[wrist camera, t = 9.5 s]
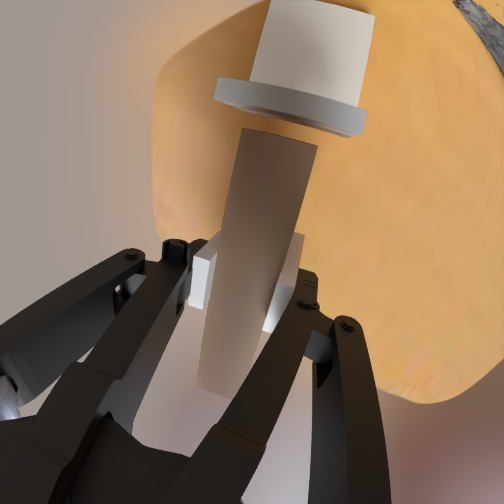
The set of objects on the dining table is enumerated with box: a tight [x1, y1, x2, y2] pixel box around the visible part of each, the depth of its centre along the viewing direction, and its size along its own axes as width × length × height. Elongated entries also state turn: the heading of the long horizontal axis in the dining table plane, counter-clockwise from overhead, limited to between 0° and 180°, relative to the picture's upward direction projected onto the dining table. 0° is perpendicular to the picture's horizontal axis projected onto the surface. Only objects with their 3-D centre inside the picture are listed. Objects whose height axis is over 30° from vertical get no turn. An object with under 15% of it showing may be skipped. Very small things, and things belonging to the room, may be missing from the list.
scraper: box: [196, 77, 368, 400], centre depth 15 cm, size 6×18×6 cm, turn 168°
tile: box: [249, 0, 375, 107], centre depth 16 cm, size 8×2×9 cm
